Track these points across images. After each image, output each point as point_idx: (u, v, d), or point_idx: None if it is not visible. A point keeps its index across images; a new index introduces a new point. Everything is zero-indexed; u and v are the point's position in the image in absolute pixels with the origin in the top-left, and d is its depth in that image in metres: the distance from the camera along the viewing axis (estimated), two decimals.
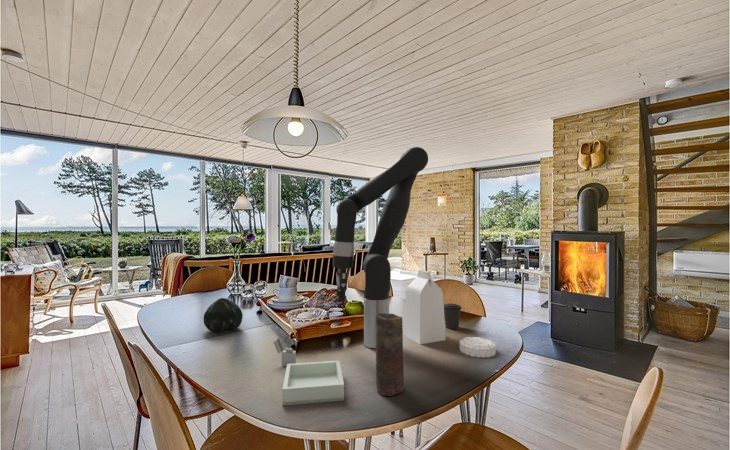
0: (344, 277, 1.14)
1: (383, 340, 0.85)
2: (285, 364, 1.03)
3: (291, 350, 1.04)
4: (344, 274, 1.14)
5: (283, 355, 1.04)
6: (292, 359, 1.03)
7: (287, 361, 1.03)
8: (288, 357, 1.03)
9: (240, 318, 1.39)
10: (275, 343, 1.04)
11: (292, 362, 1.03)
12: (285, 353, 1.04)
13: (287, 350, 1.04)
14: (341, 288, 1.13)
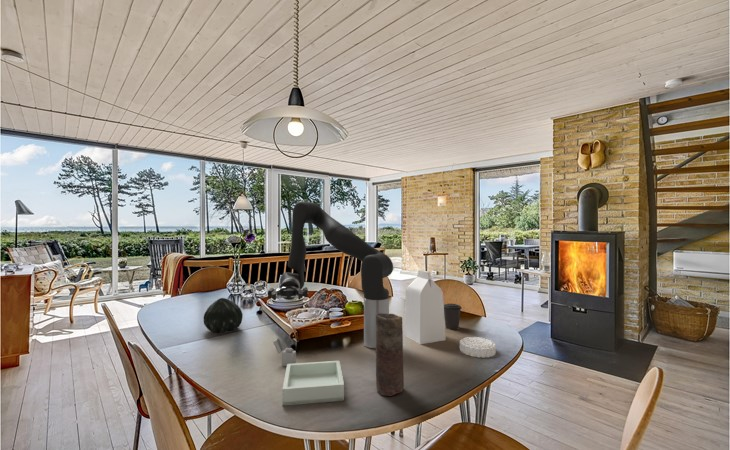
0: None
1: (383, 340, 0.85)
2: (285, 364, 1.03)
3: (291, 350, 1.04)
4: None
5: (283, 355, 1.04)
6: (292, 359, 1.03)
7: (287, 361, 1.03)
8: (288, 357, 1.03)
9: (240, 318, 1.39)
10: (275, 343, 1.04)
11: (292, 362, 1.03)
12: (285, 353, 1.04)
13: (287, 350, 1.04)
14: (268, 295, 1.20)
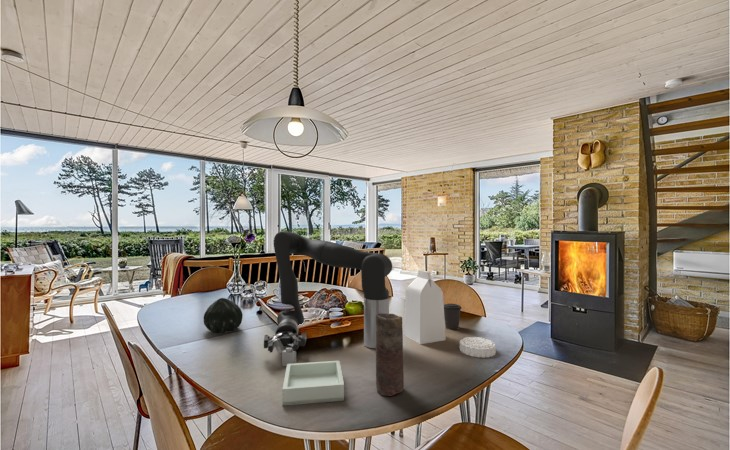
0: None
1: (383, 340, 0.85)
2: (285, 364, 1.03)
3: (291, 350, 1.04)
4: None
5: (283, 355, 1.04)
6: (292, 359, 1.03)
7: (287, 361, 1.03)
8: (288, 357, 1.03)
9: (240, 318, 1.39)
10: (275, 343, 1.04)
11: (292, 362, 1.03)
12: (285, 353, 1.03)
13: (287, 350, 1.04)
14: (264, 345, 1.06)
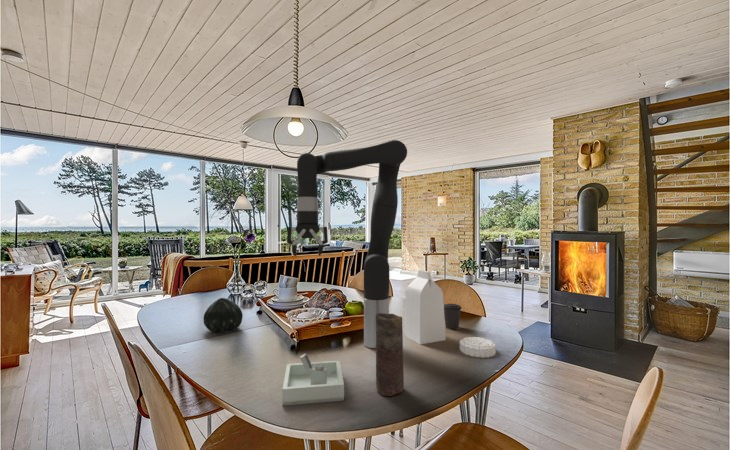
0: None
1: (383, 340, 0.85)
2: (315, 384, 0.89)
3: (322, 368, 0.89)
4: (288, 227, 1.17)
5: (312, 373, 0.89)
6: (323, 378, 0.88)
7: (317, 380, 0.88)
8: (318, 376, 0.88)
9: (240, 318, 1.39)
10: (303, 359, 0.89)
11: (323, 382, 0.88)
12: (315, 371, 0.89)
13: (317, 368, 0.89)
14: None
